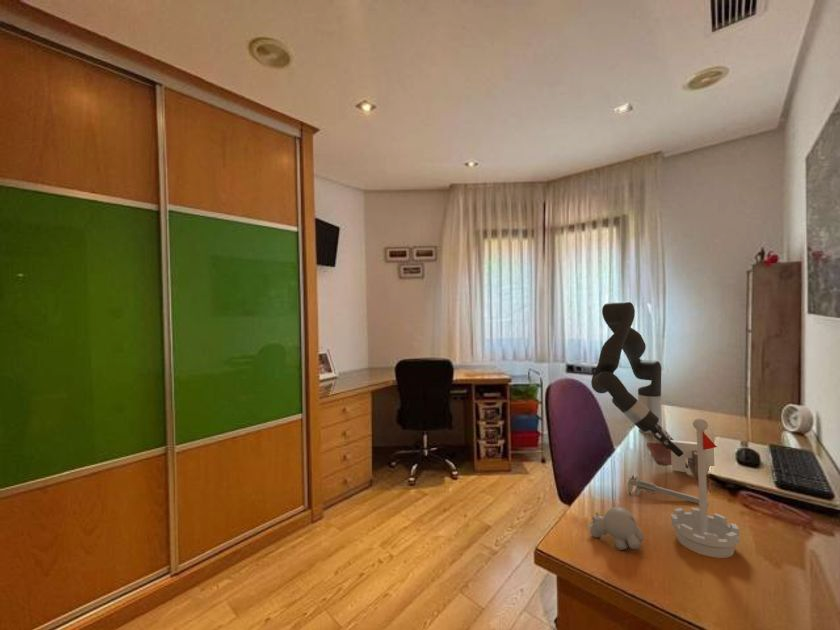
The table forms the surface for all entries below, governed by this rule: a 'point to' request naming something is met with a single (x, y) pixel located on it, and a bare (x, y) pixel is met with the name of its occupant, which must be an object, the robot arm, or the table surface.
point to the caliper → (657, 490)
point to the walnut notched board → (694, 463)
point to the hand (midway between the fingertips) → (679, 450)
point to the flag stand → (704, 513)
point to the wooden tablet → (661, 453)
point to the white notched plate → (689, 455)
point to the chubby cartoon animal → (617, 528)
